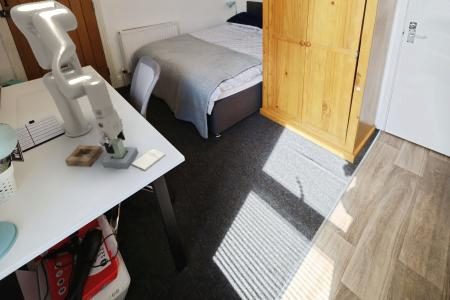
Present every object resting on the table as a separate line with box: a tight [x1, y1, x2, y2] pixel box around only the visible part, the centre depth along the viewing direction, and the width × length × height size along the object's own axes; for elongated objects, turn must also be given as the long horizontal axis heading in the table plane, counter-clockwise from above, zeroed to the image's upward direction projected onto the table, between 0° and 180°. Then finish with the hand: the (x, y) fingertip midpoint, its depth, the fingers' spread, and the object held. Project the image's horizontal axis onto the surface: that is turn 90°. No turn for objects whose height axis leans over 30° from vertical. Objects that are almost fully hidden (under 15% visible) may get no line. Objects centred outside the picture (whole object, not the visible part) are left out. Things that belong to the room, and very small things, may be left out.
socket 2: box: [101, 146, 139, 170], centre depth 121 cm, size 11×11×3 cm
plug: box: [111, 137, 126, 159], centre depth 119 cm, size 4×4×10 cm
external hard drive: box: [130, 148, 166, 172], centre depth 121 cm, size 2×8×12 cm
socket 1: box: [65, 144, 104, 168], centre depth 124 cm, size 11×11×3 cm
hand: (116, 146), depth 118 cm, fingers open, 9 cm apart
